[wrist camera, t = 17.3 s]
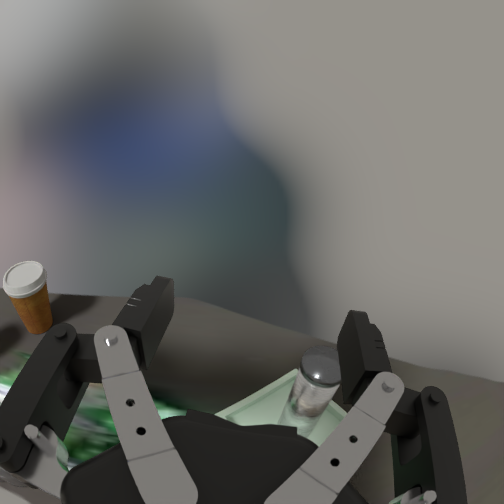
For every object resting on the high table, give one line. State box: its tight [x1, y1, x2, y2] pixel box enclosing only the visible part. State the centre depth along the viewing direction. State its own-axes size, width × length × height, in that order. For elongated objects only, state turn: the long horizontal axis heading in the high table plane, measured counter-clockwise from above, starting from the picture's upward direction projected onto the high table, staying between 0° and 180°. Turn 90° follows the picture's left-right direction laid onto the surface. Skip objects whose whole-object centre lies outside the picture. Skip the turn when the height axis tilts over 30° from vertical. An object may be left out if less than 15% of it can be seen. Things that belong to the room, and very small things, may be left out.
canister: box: [277, 346, 341, 438], centre depth 33 cm, size 5×5×16 cm
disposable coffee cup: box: [3, 261, 53, 334], centre depth 44 cm, size 10×10×12 cm
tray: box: [215, 369, 347, 446], centre depth 37 cm, size 16×16×2 cm
